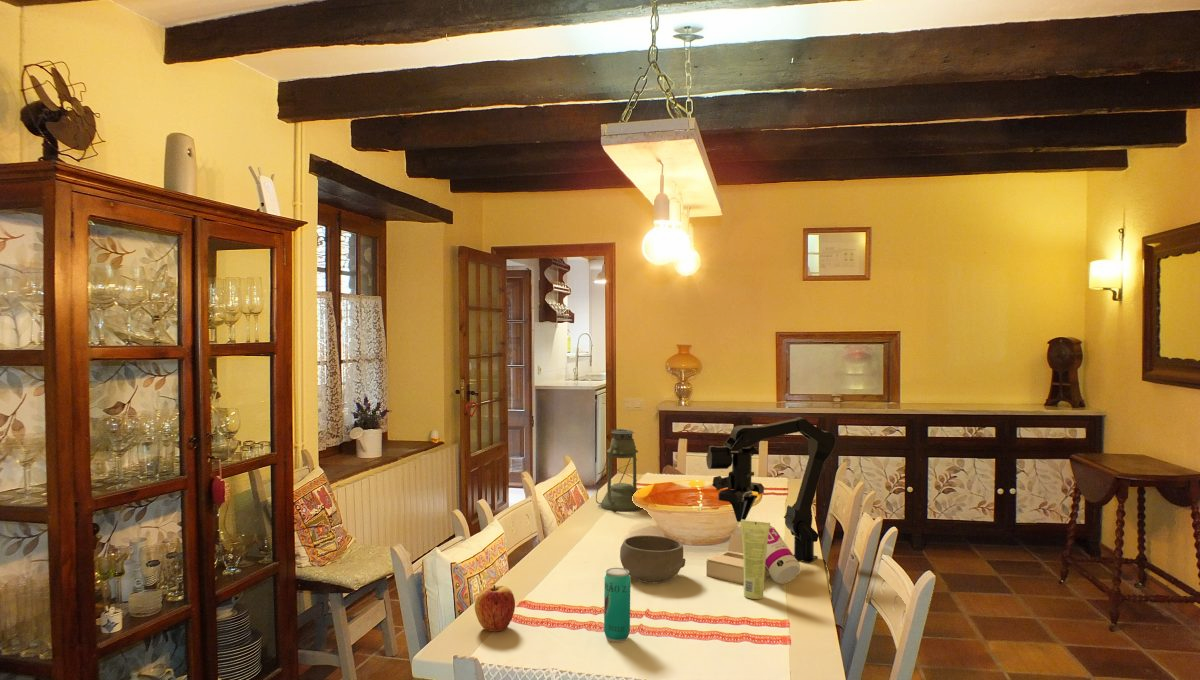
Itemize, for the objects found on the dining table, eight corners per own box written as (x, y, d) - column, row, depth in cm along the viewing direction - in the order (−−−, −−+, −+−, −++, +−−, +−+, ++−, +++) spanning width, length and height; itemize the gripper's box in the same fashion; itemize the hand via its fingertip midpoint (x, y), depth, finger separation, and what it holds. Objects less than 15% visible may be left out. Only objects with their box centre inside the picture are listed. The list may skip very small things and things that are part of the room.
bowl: (691, 573, 216) (692, 537, 216) (670, 592, 200) (670, 554, 200) (635, 565, 223) (635, 530, 223) (610, 582, 207) (610, 546, 207)
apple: (480, 639, 168) (480, 594, 168) (470, 624, 176) (470, 581, 176) (519, 633, 172) (520, 589, 172) (508, 619, 180) (508, 577, 180)
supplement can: (803, 560, 203) (774, 519, 214) (776, 570, 201) (748, 527, 212) (799, 579, 208) (771, 537, 219) (773, 588, 206) (746, 546, 217)
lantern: (626, 514, 284) (627, 434, 284) (587, 508, 294) (588, 430, 294) (653, 504, 301) (654, 428, 301) (616, 498, 311) (616, 425, 311)
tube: (757, 591, 201) (758, 517, 201) (769, 597, 196) (770, 522, 196) (739, 594, 198) (740, 519, 198) (751, 601, 194) (752, 524, 194)
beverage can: (602, 633, 172) (603, 567, 172) (628, 633, 172) (628, 566, 172) (605, 644, 166) (605, 575, 166) (631, 643, 167) (632, 575, 166)
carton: (726, 565, 223) (726, 549, 223) (771, 575, 215) (771, 558, 215) (706, 575, 214) (706, 559, 213) (752, 586, 205) (752, 569, 205)
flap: (727, 550, 223) (728, 550, 223) (771, 559, 215) (771, 559, 215) (731, 533, 225) (731, 533, 225) (774, 541, 216) (774, 541, 217)
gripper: (732, 461, 240) (731, 511, 240) (702, 469, 225) (702, 522, 225) (764, 465, 233) (764, 516, 233) (736, 474, 218) (736, 528, 219)
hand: (741, 520), depth 228 cm, fingers open, 3 cm apart
